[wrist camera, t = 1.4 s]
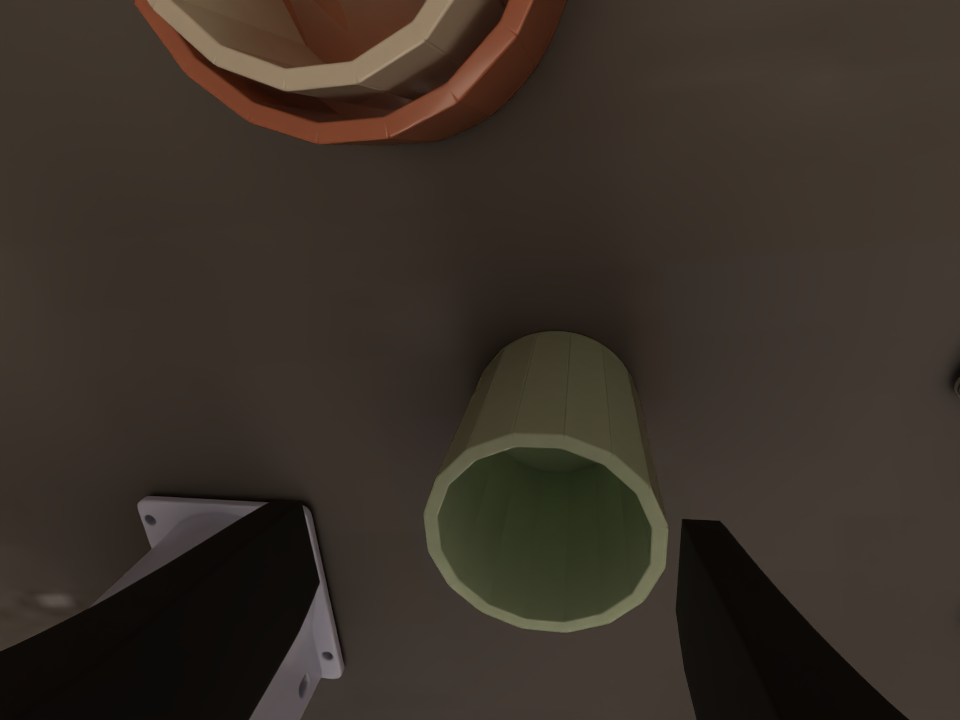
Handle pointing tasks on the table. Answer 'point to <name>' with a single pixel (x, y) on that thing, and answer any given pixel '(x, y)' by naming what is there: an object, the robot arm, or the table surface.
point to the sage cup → (550, 490)
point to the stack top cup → (363, 81)
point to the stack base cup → (330, 122)
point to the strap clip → (957, 387)
